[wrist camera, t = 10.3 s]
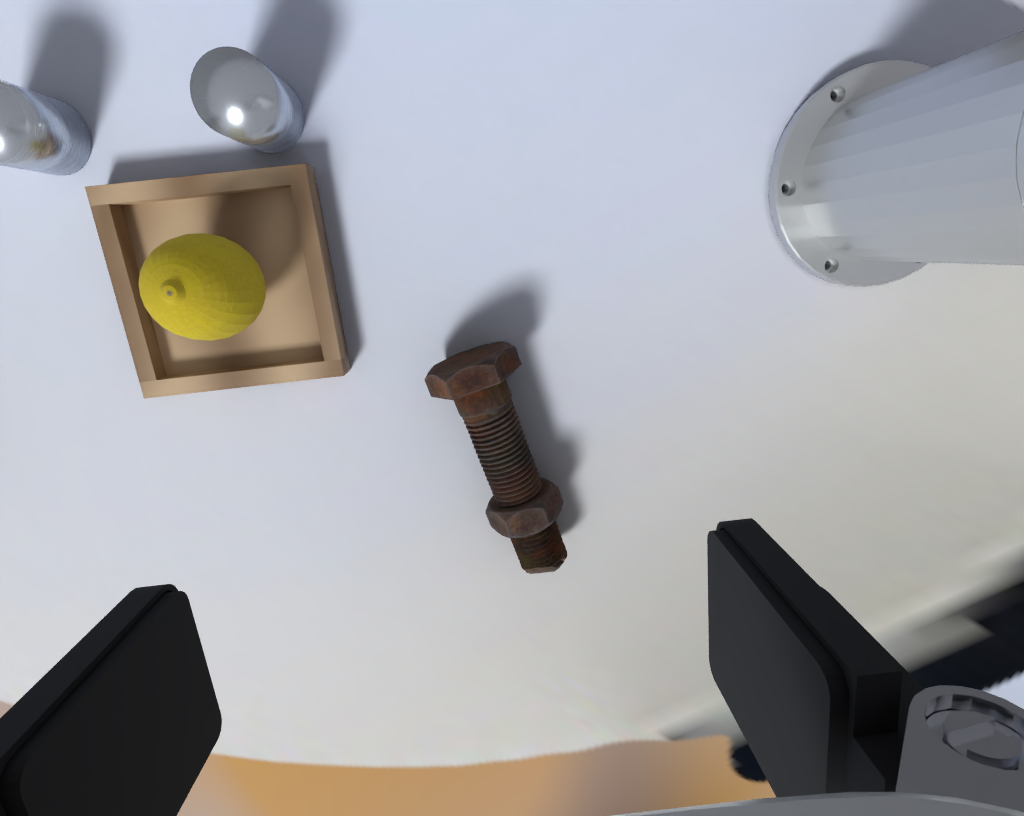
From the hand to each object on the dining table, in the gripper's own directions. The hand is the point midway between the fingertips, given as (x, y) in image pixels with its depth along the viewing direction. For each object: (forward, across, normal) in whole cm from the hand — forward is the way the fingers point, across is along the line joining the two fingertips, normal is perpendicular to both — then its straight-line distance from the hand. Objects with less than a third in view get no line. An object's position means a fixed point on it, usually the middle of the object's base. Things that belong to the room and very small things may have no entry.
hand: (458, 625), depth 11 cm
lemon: (+28, +14, -6) cm, 31 cm away
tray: (+28, +14, -6) cm, 32 cm away
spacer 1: (+28, +22, -15) cm, 39 cm away
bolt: (+29, -1, +7) cm, 29 cm away
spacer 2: (+28, +10, -15) cm, 33 cm away
